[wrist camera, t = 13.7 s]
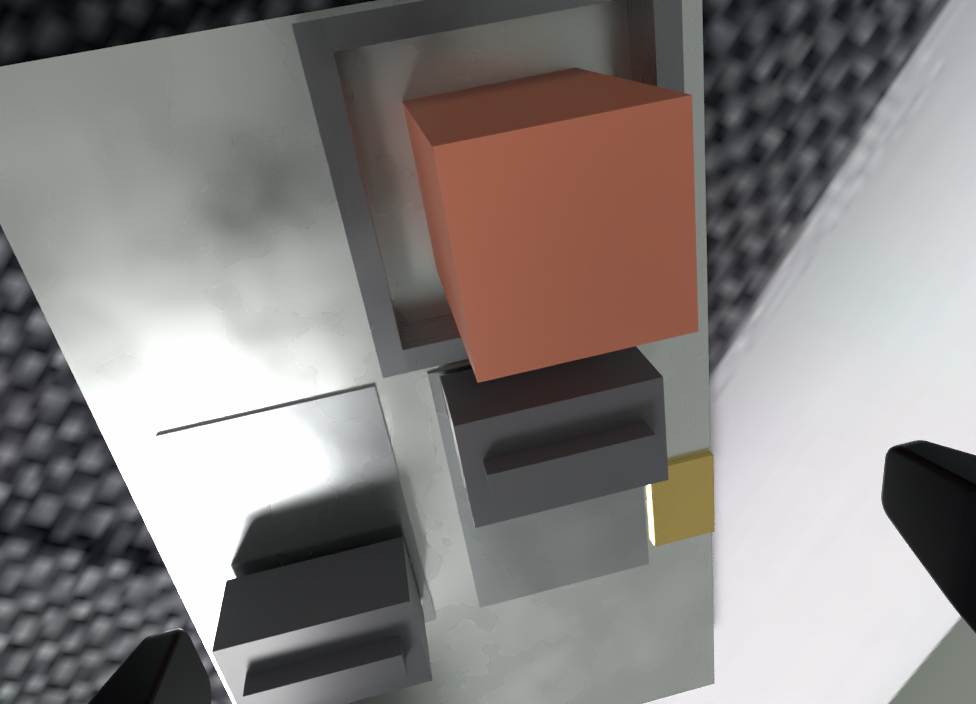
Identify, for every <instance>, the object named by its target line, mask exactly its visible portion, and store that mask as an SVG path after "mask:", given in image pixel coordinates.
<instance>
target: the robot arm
mask: <svg viewBox="0 0 976 704" xmlns="http://www.w3.org/2000/svg"><path fill="white" fill-rule="evenodd" d="M881 499H882V505H883V508H884V511H885V513H886V515H887V516H888V518H889V519H890V521H891V522H892V523H893V525H894V526H895V528H896V529H897V530H898V532H899V533H900V534H901V536H902V537H903V539H904V540H905V541H906V543H907V544H908V545H909V547H910V548H911V550H912V551H913V552H914V554H915V555H916V556H917V558H918V559H919V560H920V562H921V563H922V565H923V566H924V567H925V569H926V570H927V571H928V573H929V574H930V576H931V577H932V578H933V580H934V581H935V582H936V584H937V585H938V587H939V588H940V589H941V591H942V592H943V593H944V595H945V596H946V597H947V599H948V600H949V601H950V603H951V604H952V605H953V607H954V608H955V609H956V610H957V612H958V613H959V614H960V616H961V617H962V618H963V619H964V620H965V621H966V623H967V624H968V625H969V626H970V627H971V629H972V630H973V631H974V632H975V633H976V455H973V454H969V453H966V452H962V451H959V450H955V449H952V448H948V447H945V446H941V445H938V444H935V443H931V442H928V441H923V440H917V441H912V442H908V443H904V444H900V445H896V446H893V447H892V448H890V449H889V450H888V452H887V454H886V457H885V466H884V475H883V485H882V494H881ZM88 704H211V687H210V681H209V678H208V675H207V672H206V670H205V668H204V666H203V664H202V662H201V660H200V657H199V655H198V653H197V651H196V649H195V647H194V645H193V643H192V641H191V638H190V637H189V635H188V633H187V632H186V631H185V630H183V629H174V630H170V631H166V632H162V633H158V634H154V635H151V636H149V637H147V638H145V639H144V640H143V641H142V642H141V643H140V644H139V645H138V647H137V648H136V649H135V650H134V651H133V652H132V653H131V655H130V656H129V657H128V658H127V659H126V660H125V662H124V663H123V664H122V665H121V666H120V667H119V668H118V670H117V671H116V672H115V673H114V674H113V675H112V677H111V678H110V679H109V680H108V681H107V682H106V683H105V685H104V686H103V687H102V688H101V689H100V690H99V692H98V693H97V694H96V695H95V696H94V697H93V698H92V700H91V701H90V702H89V703H88Z"/></svg>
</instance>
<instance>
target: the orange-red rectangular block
mask: <svg viewBox="0 0 976 704" xmlns="http://www.w3.org/2000/svg"><path fill="white" fill-rule="evenodd" d="M402 104H403V109H404V114H405V119H406V123H407V128H408V133H409V138H410V143H411V148H412V153H413V158H414V162H415V167H416V172H417V177H418V182H419V187H420V192H421V197H422V201H423V206H424V211H425V216H426V221H427V226H428V231H429V235H430V240H431V245H432V250H433V255H434V260H435V265H436V270H437V273H438V275H439V278H440V281H441V284H442V286H443V289H444V292H445V295H446V297H447V300H448V303H449V306H450V308H451V311H452V314H453V317H454V319H455V322H456V325H457V328H458V330H459V333H460V336H461V339H462V341H463V344H464V347H465V350H466V352H467V355H468V358H469V361H470V363H471V366H472V369H473V372H474V374H475V377H476V380H477V383H479V382H484V381H488V380H492V379H497V378H501V377H505V376H510V375H514V374H518V373H522V372H527V371H531V370H535V369H540V368H544V367H548V366H552V365H557V364H561V363H565V362H570V361H574V360H578V359H583V358H587V357H591V356H595V355H600V354H604V353H608V352H613V351H617V350H621V349H626V348H630V347H634V346H638V345H643V344H647V343H651V342H656V341H660V340H664V339H669V338H673V337H677V336H681V335H686V334H690V333H694V332H699V331H698V294H697V258H696V222H695V185H694V149H693V112H692V95H691V94H686V93H682V92H678V91H674V90H669V89H665V88H661V87H657V86H652V85H648V84H644V83H640V82H635V81H631V80H627V79H623V78H618V77H614V76H610V75H606V74H601V73H597V72H593V71H588V70H584V69H580V68H571V69H566V70H561V71H556V72H551V73H545V74H540V75H535V76H530V77H525V78H520V79H514V80H509V81H504V82H499V83H494V84H489V85H483V86H478V87H473V88H468V89H463V90H457V91H452V92H447V93H442V94H437V95H432V96H426V97H421V98H416V99H411V100H406V101H402Z"/></svg>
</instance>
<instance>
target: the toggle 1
mask: <svg viewBox="0 0 976 704" xmlns="http://www.w3.org/2000/svg"><path fill="white" fill-rule="evenodd" d="M212 654H213V656H214V659H215V661H216V663H217V665H218V667H219V669H220V671H221V673H222V675H223V677H224V679H225V681H226V683H227V686H228V688H229V690H230V692H231V694H232V696H233V698H234V700H235V702H236V704H346V703H350V702H354V701H358V700H361V699H365V698H369V697H373V696H376V695H380V694H384V693H387V692H391V691H395V690H399V689H402V688H406V687H410V686H413V685H417V684H421V683H425V682H428V681H432V673H431V665H430V658H429V650H428V643H427V635H426V628H425V620H424V613H423V609H422V605H421V601H420V598H419V594H418V591H417V587H416V583H415V580H414V576H413V572H412V569H411V565H410V562H409V558H408V554H407V551H406V547H405V543H404V540H403V537H399V538H395V539H391V540H387V541H383V542H379V543H375V544H371V545H367V546H363V547H359V548H355V549H351V550H347V551H343V552H339V553H335V554H331V555H327V556H323V557H319V558H315V559H311V560H307V561H303V562H299V563H295V564H291V565H287V566H282V567H278V568H274V569H270V570H266V571H262V572H258V573H254V574H250V575H246V576H242V577H238V578H234V579H230V580H226V584H225V589H224V594H223V599H222V603H221V608H220V613H219V618H218V623H217V628H216V633H215V637H214V642H213V647H212Z"/></svg>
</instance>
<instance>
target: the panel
mask: <svg viewBox="0 0 976 704" xmlns="http://www.w3.org/2000/svg"><path fill="white" fill-rule="evenodd" d="M571 68H580V69H584V70H588V71H593V72H597V73H601V74H606V75H610V76H614V77H618V78H623V79H627V80H631V81H635V82H640V83H644V84H648V85H652V86H657V87H661V88H665V89H669V90H674V91H678V92H682V93H686V94H691V95H692V112H693V149H694V185H695V222H696V258H697V294H698V331H699V332H694V333H690V334H686V335H681V336H677V337H673V338H669V339H664V340H660V341H656V342H651V343H647V344H643V345H638V346H636V347H637V348H638V349H639V350H640V351H641V352H642V354H643V355H644V356H645V357H646V358H647V359H648V360H649V361H650V363H651V364H652V365H653V366H654V367H655V368H656V369H657V371H658V372H659V373H660V374H661V375H662V376H663V383H664V403H665V422H666V441H667V461H668V480H666V481H662V482H658V483H654V484H650V485H646V486H642V487H638V488H634V489H630V490H626V491H622V492H618V493H614V494H610V495H606V496H602V497H598V498H594V499H590V500H586V501H582V502H578V503H574V504H570V505H566V506H562V507H558V508H554V509H550V510H546V511H542V512H538V513H534V514H530V515H526V516H522V517H518V518H514V519H510V520H506V521H502V522H498V523H494V524H490V525H486V526H482V527H478V528H475V526H474V522H473V518H472V514H471V510H470V506H469V502H468V498H467V494H466V490H465V487H464V483H463V479H462V475H461V471H460V467H459V462H458V457H457V453H456V448H455V443H454V439H453V434H452V429H451V425H450V420H449V416H448V411H447V406H446V402H445V397H444V392H443V388H442V383H441V378H440V376H443V375H448V374H452V373H456V372H461V371H465V370H469V369H472V366H471V363H470V361H469V358H468V355H467V352H466V350H465V347H464V344H463V341H462V339H461V336H460V333H459V330H458V328H457V325H456V322H455V319H454V317H453V314H452V311H451V308H450V306H449V303H448V300H447V297H446V295H445V292H444V289H443V286H442V284H441V281H440V278H439V275H438V273H437V270H436V265H435V260H434V255H433V250H432V245H431V240H430V235H429V231H428V226H427V221H426V216H425V211H424V206H423V201H422V197H421V192H420V187H419V182H418V177H417V172H416V167H415V162H414V158H413V153H412V148H411V143H410V138H409V133H408V128H407V123H406V119H405V114H404V109H403V104H402V101H406V100H411V99H416V98H421V97H426V96H432V95H437V94H442V93H447V92H452V91H457V90H463V89H468V88H473V87H478V86H483V85H489V84H494V83H499V82H504V81H509V80H514V79H520V78H525V77H530V76H535V75H540V74H545V73H551V72H556V71H561V70H566V69H571ZM0 224H1V226H2V228H3V230H4V232H5V235H6V237H7V239H8V241H9V243H10V245H11V247H12V249H13V251H14V253H15V255H16V257H17V259H18V261H19V263H20V266H21V268H22V270H23V272H24V274H25V276H26V278H27V280H28V282H29V284H30V286H31V288H32V290H33V292H34V294H35V296H36V299H37V301H38V303H39V305H40V307H41V309H42V311H43V313H44V315H45V317H46V319H47V321H48V323H49V325H50V327H51V329H52V332H53V334H54V336H55V338H56V340H57V342H58V344H59V346H60V348H61V350H62V352H63V354H64V356H65V358H66V360H67V362H68V365H69V367H70V369H71V371H72V373H73V375H74V377H75V379H76V381H77V383H78V385H79V387H80V389H81V391H82V393H83V396H84V398H85V400H86V402H87V404H88V406H89V408H90V410H91V412H92V414H93V416H94V418H95V420H96V422H97V424H98V426H99V429H100V431H101V433H102V435H103V437H104V439H105V441H106V443H107V445H108V447H109V449H110V451H111V453H112V455H113V457H114V459H115V462H116V464H117V466H118V468H119V470H120V472H121V474H122V476H123V478H124V480H125V482H126V484H127V486H128V488H129V490H130V493H131V495H132V497H133V499H134V501H135V503H136V505H137V507H138V509H139V511H140V513H141V515H142V517H143V519H144V521H145V523H146V526H147V528H148V530H149V532H150V534H151V536H152V538H153V540H154V542H155V544H156V546H157V548H158V550H159V552H160V554H161V556H162V559H163V561H164V563H165V565H166V567H167V569H168V571H169V573H170V575H171V577H172V579H173V581H174V583H175V585H176V587H177V589H178V592H179V594H180V596H181V598H182V600H183V602H184V604H185V606H186V608H187V610H188V612H189V614H190V616H191V618H192V620H193V623H194V625H195V627H196V629H197V631H198V633H199V635H200V637H201V639H202V641H203V643H204V645H205V647H206V649H207V651H208V653H209V656H210V658H211V660H212V662H213V664H214V666H215V668H216V670H217V672H218V674H219V676H220V678H221V680H222V682H223V684H224V686H225V689H226V691H227V693H228V695H229V697H230V699H231V701H232V703H233V704H236V702H235V700H234V698H233V696H232V694H231V692H230V690H229V688H228V686H227V683H226V681H225V679H224V677H223V675H222V673H221V671H220V669H219V667H218V665H217V663H216V661H215V659H214V656H213V654H212V647H213V642H214V637H215V633H216V628H217V623H218V618H219V613H220V608H221V603H222V599H223V594H224V589H225V584H226V580H230V579H234V578H238V577H242V576H246V575H250V574H254V573H258V572H262V571H266V570H270V569H274V568H278V567H282V566H287V565H291V564H295V563H299V562H303V561H307V560H311V559H315V558H319V557H323V556H327V555H331V554H335V553H339V552H343V551H347V550H351V549H355V548H359V547H363V546H367V545H371V544H375V543H379V542H383V541H387V540H391V539H395V538H399V537H403V540H404V543H405V547H406V551H407V554H408V558H409V562H410V565H411V569H412V572H413V576H414V580H415V583H416V587H417V591H418V594H419V598H420V601H421V605H422V609H423V613H424V620H425V628H426V635H427V643H428V650H429V658H430V665H431V673H432V681H428V682H425V683H421V684H417V685H413V686H410V687H406V688H402V689H399V690H395V691H391V692H387V693H384V694H380V695H376V696H373V697H369V698H365V699H361V700H358V701H354V702H350V703H346V704H643V703H646V702H650V701H653V700H657V699H660V698H664V697H668V696H671V695H675V694H678V693H682V692H685V691H689V690H693V689H696V688H700V687H703V686H707V685H710V684H714V634H713V578H712V532H714V468H713V454H712V453H711V452H710V409H709V353H708V297H707V241H706V185H705V129H704V73H703V17H702V0H376V1H370V2H364V3H359V4H353V5H347V6H342V7H336V8H330V9H325V10H319V11H313V12H308V13H302V14H296V15H291V16H285V17H279V18H274V19H268V20H262V21H256V22H251V23H245V24H239V25H234V26H228V27H222V28H217V29H211V30H205V31H200V32H194V33H188V34H183V35H177V36H171V37H166V38H160V39H154V40H149V41H143V42H137V43H132V44H126V45H120V46H115V47H109V48H103V49H98V50H92V51H86V52H81V53H75V54H69V55H64V56H58V57H52V58H47V59H41V60H35V61H30V62H24V63H18V64H12V65H7V66H1V67H0Z"/></svg>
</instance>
